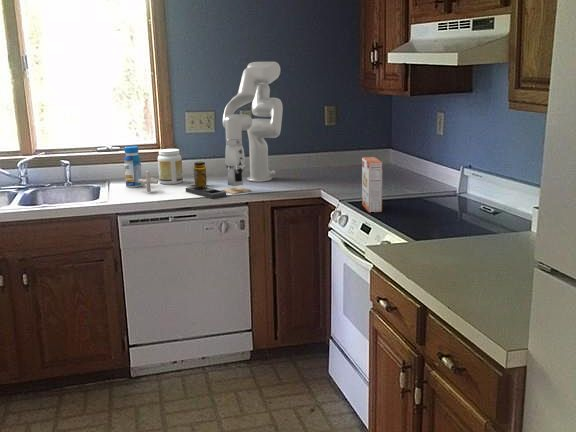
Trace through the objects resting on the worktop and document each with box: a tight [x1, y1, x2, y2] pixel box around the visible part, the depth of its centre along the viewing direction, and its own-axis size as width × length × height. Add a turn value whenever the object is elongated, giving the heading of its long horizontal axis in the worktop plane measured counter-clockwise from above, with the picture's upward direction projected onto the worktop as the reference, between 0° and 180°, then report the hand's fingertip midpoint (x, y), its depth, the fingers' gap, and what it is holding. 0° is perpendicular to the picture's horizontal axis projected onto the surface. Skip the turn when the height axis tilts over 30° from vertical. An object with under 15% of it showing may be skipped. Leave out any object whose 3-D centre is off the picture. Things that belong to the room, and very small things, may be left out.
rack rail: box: [185, 186, 227, 199], centre depth 308 cm, size 8×22×2 cm, turn 42°
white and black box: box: [226, 167, 244, 187], centre depth 312 cm, size 5×5×8 cm
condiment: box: [188, 161, 210, 187], centre depth 327 cm, size 7×8×12 cm
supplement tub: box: [157, 148, 184, 185], centre depth 336 cm, size 12×12×17 cm
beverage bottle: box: [123, 145, 143, 188], centre depth 328 cm, size 8×8×20 cm
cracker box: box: [361, 156, 383, 214], centre depth 270 cm, size 14×6×21 cm, turn 5°
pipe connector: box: [138, 170, 159, 193], centre depth 315 cm, size 10×10×10 cm
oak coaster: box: [220, 186, 252, 195], centre depth 314 cm, size 10×10×1 cm
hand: (235, 180), depth 312 cm, fingers closed on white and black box, 5 cm apart
